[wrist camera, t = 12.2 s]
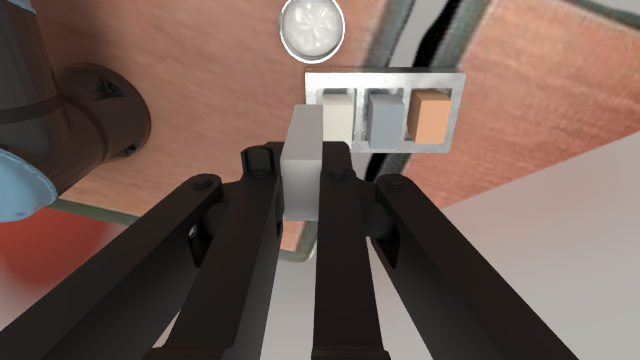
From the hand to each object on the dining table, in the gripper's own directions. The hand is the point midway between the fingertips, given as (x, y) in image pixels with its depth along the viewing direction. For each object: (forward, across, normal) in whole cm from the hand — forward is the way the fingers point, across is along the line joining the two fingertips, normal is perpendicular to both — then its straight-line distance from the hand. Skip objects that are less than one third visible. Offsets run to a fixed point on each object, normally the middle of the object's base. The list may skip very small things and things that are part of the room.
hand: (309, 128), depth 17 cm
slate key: (+29, +9, -9) cm, 31 cm away
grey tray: (+32, +9, -9) cm, 35 cm away
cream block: (+29, +2, -9) cm, 30 cm away
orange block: (+30, +16, -9) cm, 35 cm away
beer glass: (+33, 0, +4) cm, 33 cm away
